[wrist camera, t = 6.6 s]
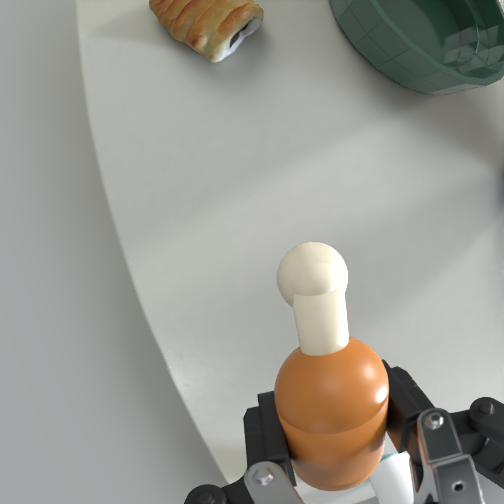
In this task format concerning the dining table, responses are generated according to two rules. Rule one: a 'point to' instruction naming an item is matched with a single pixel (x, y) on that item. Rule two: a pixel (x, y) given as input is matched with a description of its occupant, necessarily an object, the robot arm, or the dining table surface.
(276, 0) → the dining table surface
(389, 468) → the can
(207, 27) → the pastry
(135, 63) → the dining table surface
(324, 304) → the drumstick
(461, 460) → the robot arm
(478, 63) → the green faceted bowl
